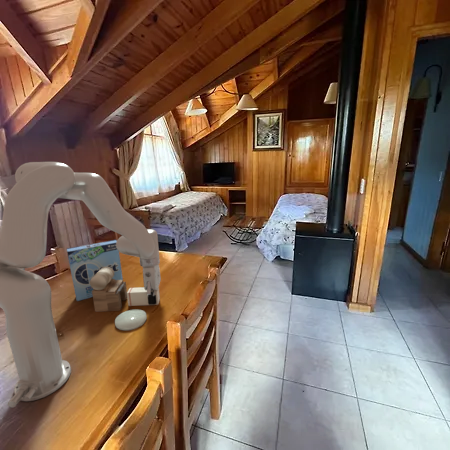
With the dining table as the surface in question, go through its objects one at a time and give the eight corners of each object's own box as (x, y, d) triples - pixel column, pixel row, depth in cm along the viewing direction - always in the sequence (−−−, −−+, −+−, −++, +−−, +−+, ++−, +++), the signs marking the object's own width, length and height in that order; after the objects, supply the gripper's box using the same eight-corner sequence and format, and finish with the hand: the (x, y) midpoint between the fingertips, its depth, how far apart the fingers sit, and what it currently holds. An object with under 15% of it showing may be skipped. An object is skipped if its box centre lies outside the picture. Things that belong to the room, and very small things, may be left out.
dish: (142, 329, 89) (142, 326, 89) (110, 331, 88) (110, 328, 88) (149, 311, 100) (149, 308, 99) (121, 312, 99) (120, 309, 99)
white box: (158, 304, 104) (156, 291, 103) (128, 306, 103) (126, 292, 102) (159, 299, 108) (158, 286, 107) (131, 300, 107) (129, 287, 106)
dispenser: (119, 310, 100) (115, 276, 97) (93, 311, 100) (88, 277, 96) (127, 297, 110) (123, 265, 106) (104, 298, 109) (99, 266, 106)
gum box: (121, 284, 121) (116, 239, 115) (124, 288, 117) (118, 242, 111) (75, 296, 111) (66, 247, 105) (76, 302, 107) (66, 251, 101)
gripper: (155, 268, 93) (159, 312, 98) (162, 252, 109) (165, 290, 114) (134, 269, 93) (139, 313, 98) (145, 253, 109) (149, 291, 114)
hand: (153, 300), depth 106 cm, fingers closed on white box, 4 cm apart
